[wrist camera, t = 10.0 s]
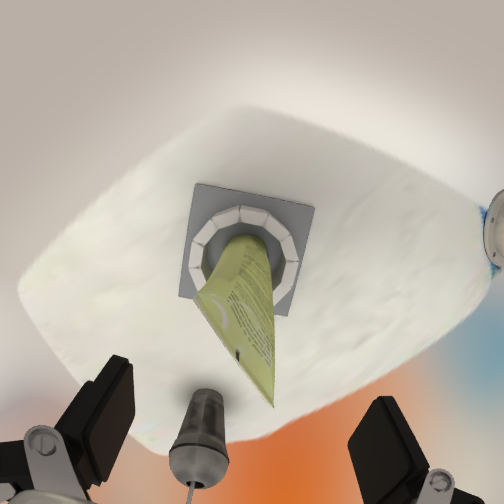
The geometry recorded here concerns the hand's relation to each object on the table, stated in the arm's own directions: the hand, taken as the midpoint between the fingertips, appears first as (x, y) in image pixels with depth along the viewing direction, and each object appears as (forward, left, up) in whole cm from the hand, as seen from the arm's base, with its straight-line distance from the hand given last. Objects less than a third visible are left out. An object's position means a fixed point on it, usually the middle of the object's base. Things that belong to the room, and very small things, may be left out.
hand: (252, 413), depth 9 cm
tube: (0, 0, -23) cm, 23 cm away
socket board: (+1, 0, -24) cm, 24 cm away
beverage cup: (+2, +23, -24) cm, 34 cm away
